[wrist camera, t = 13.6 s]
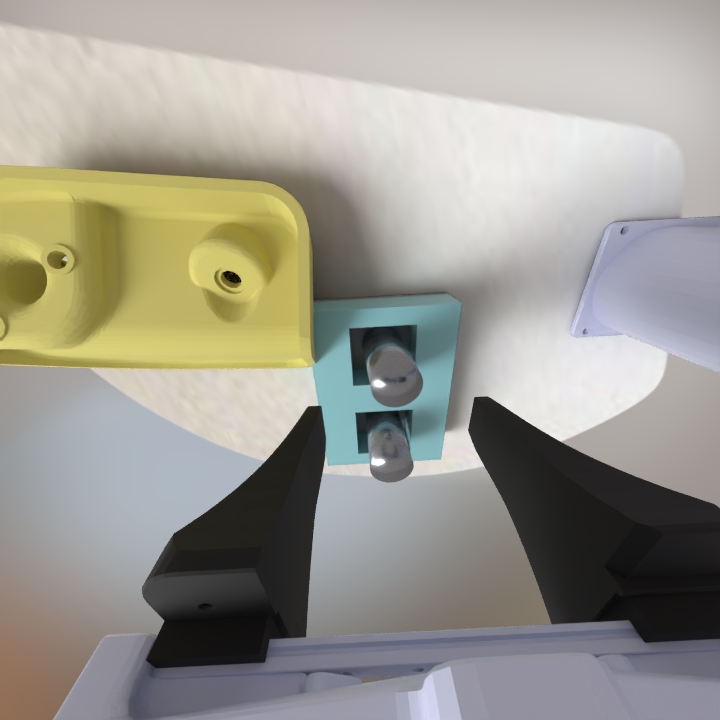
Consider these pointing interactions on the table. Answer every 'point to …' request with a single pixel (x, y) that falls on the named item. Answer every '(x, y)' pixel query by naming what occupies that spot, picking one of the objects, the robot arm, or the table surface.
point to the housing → (350, 377)
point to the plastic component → (152, 272)
